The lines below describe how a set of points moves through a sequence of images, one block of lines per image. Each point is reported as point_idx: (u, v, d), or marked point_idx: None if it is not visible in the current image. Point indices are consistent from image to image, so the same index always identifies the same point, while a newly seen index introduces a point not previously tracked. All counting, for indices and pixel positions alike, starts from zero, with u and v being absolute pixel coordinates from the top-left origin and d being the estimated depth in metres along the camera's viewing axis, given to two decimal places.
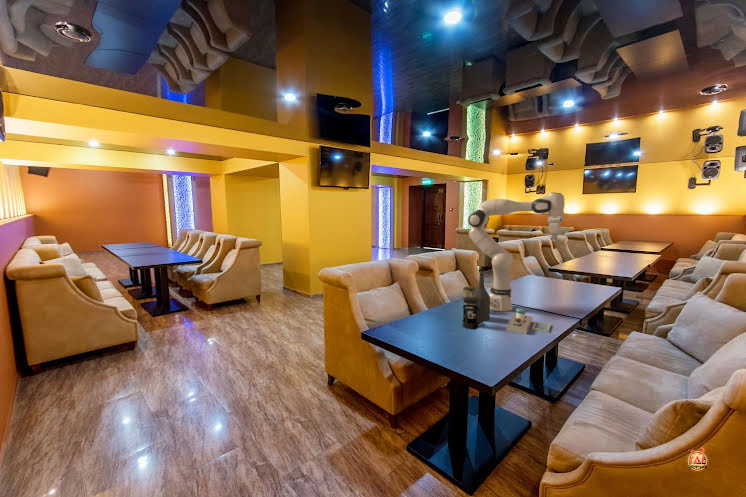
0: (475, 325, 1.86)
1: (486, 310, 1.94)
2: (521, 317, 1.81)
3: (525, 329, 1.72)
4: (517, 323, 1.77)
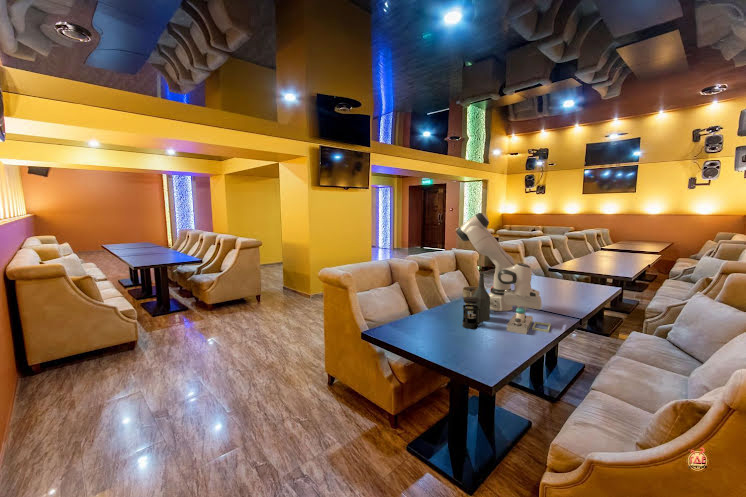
0: (475, 325, 1.86)
1: (486, 310, 1.94)
2: (521, 317, 1.81)
3: (525, 329, 1.72)
4: (517, 323, 1.77)
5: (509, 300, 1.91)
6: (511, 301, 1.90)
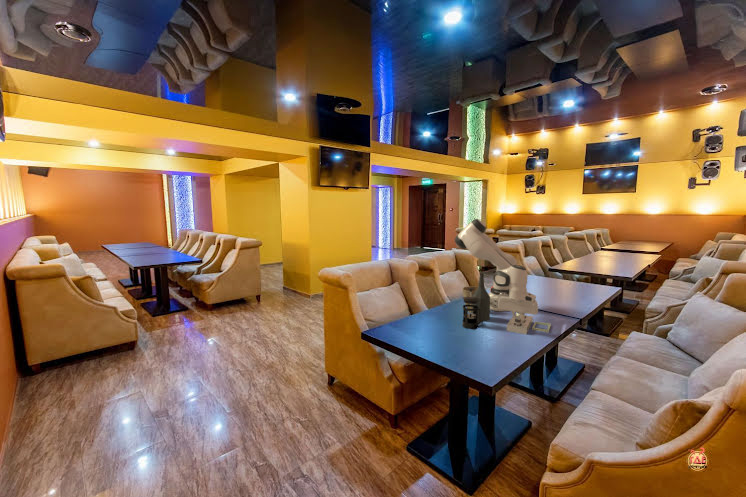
0: (475, 325, 1.86)
1: (486, 310, 1.94)
2: (521, 317, 1.81)
3: (525, 329, 1.72)
4: (517, 323, 1.77)
5: (503, 304, 1.79)
6: (506, 306, 1.78)
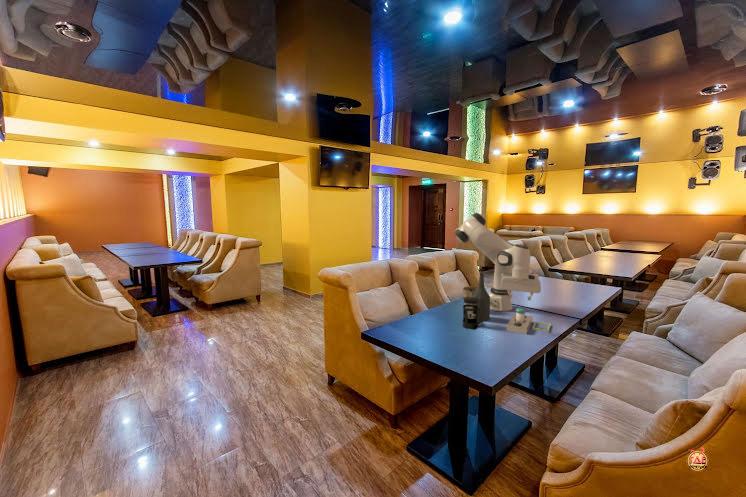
0: (475, 325, 1.86)
1: (486, 310, 1.94)
2: (521, 317, 1.81)
3: (525, 329, 1.72)
4: None
5: (506, 284, 1.79)
6: (509, 286, 1.78)
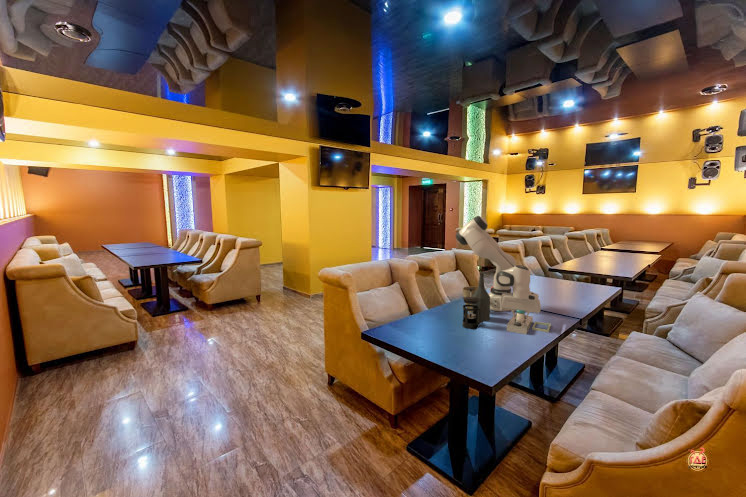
0: (475, 325, 1.86)
1: (486, 310, 1.94)
2: (521, 317, 1.81)
3: (525, 329, 1.72)
4: None
5: (507, 303, 1.85)
6: (510, 305, 1.84)
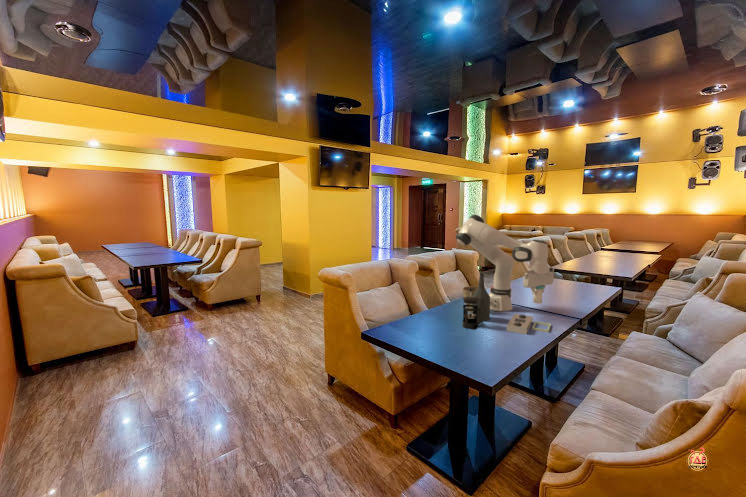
0: (475, 325, 1.86)
1: (486, 310, 1.94)
2: None
3: (525, 329, 1.72)
4: None
5: (532, 281, 1.74)
6: (534, 282, 1.75)
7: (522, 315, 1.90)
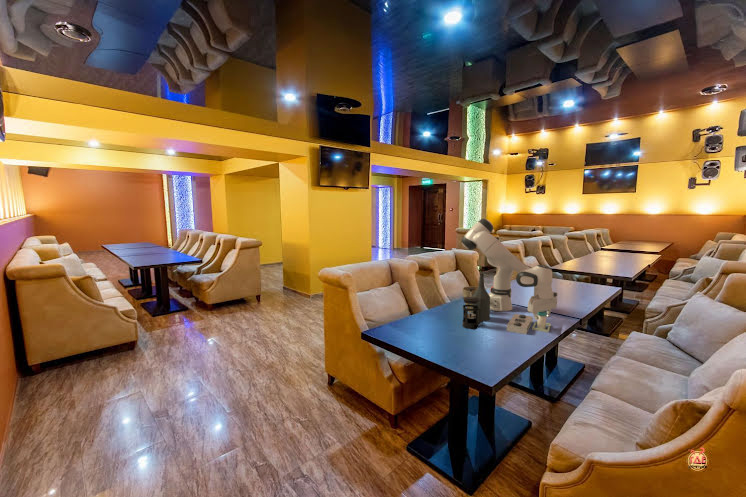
0: (475, 325, 1.86)
1: (486, 310, 1.94)
2: None
3: (525, 329, 1.72)
4: None
5: (537, 306, 1.76)
6: (538, 307, 1.76)
7: (522, 315, 1.90)
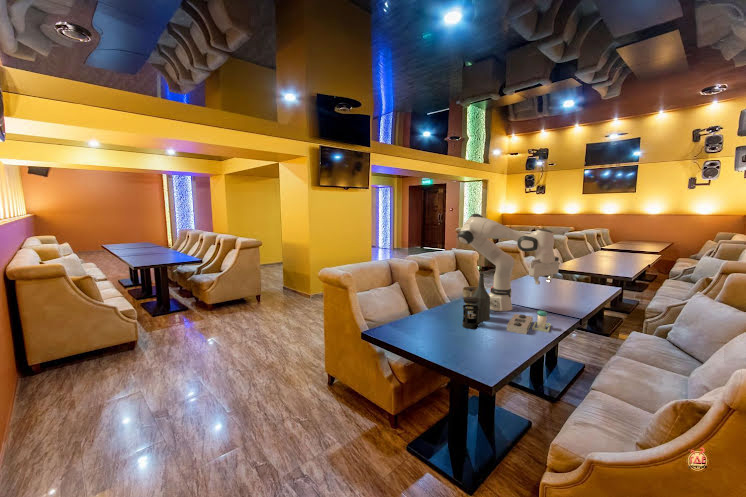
0: (475, 325, 1.86)
1: (486, 310, 1.94)
2: None
3: (525, 329, 1.72)
4: None
5: (538, 270, 1.73)
6: (540, 272, 1.74)
7: (522, 315, 1.90)
